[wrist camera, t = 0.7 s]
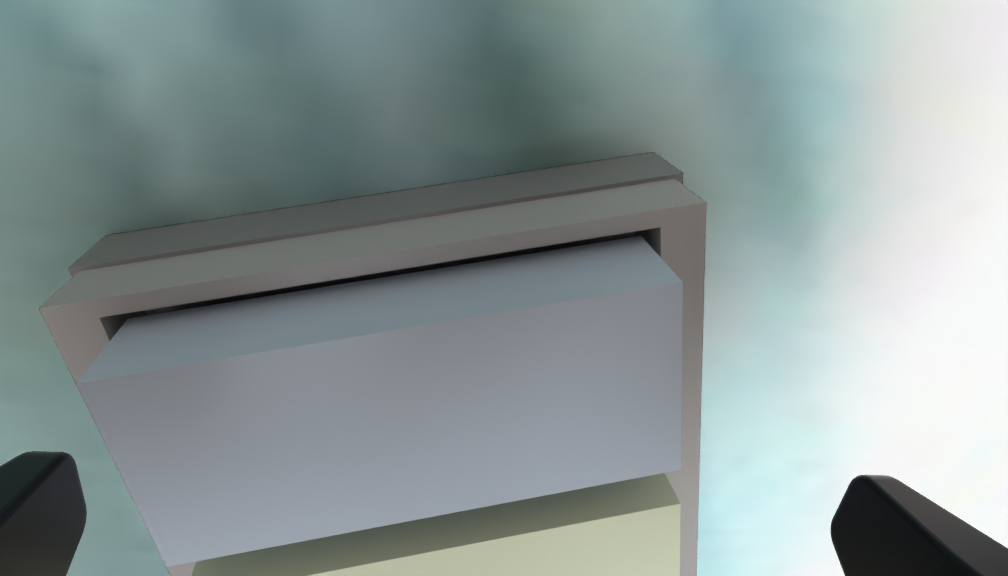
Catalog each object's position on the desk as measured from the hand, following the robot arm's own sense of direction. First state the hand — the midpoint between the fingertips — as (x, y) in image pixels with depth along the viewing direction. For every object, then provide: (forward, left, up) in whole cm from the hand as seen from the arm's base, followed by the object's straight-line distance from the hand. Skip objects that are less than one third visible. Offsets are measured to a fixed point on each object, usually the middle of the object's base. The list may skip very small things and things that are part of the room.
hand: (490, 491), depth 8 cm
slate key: (-1, -3, -7) cm, 8 cm away
